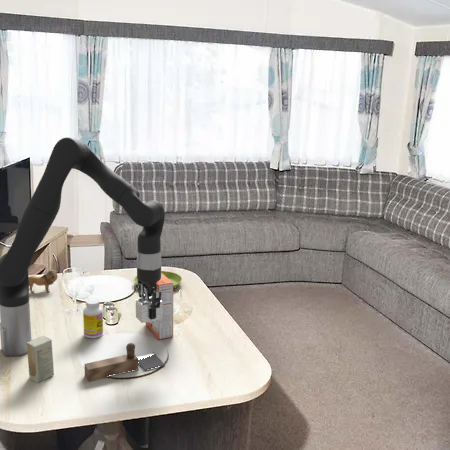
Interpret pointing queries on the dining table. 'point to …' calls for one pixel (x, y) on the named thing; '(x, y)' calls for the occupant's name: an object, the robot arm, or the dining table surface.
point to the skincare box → (40, 359)
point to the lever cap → (146, 310)
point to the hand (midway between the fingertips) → (149, 315)
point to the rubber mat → (151, 362)
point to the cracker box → (164, 310)
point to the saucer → (170, 275)
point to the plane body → (112, 365)
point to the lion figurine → (43, 280)
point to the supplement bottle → (93, 319)
